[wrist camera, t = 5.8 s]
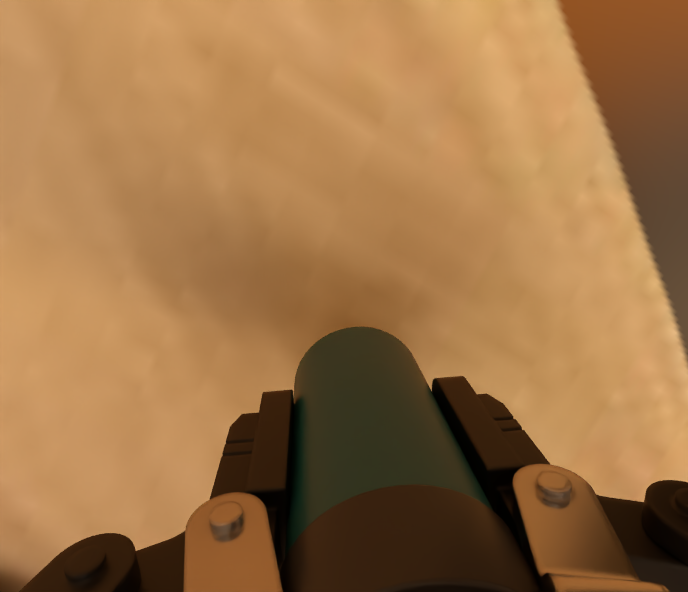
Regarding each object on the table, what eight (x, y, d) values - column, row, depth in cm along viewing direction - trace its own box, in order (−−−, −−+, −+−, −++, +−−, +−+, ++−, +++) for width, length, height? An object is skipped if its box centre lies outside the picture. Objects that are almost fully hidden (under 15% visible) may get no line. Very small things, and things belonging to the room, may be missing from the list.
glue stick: (296, 446, 14) (283, 818, 6) (285, 327, 12) (251, 602, 5) (422, 435, 14) (562, 781, 6) (422, 317, 13) (594, 565, 5)
